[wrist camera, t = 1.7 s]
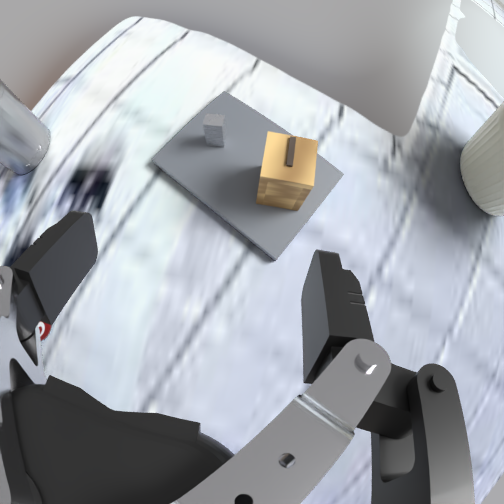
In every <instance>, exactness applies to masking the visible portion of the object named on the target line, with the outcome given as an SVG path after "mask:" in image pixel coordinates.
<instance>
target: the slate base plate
mask: <svg viewBox="0 0 504 504" xmlns="http://www.w3.org/2000/svg"><path fill="white" fill-rule="evenodd" d="M206 113H209V114H219V115H225V122H226V135H227V138H226V142H225V146H224V148H222V147H215V146H207V143H206V138H205V133H204V128H203V121H204V118H205V115H206ZM268 131H269V132H275V133H281V134H286V135H291V134H290V133H288V132H287V131H286V130H284V129H283V128H281V127H280V126H278V125H277V124H275V123H274V122H272V121H271V120H269V119H268V118H266V117H265V116H263V115H262V114H260V113H259V112H257V111H256V110H254V109H253V108H251V107H249V106H248V105H246V104H245V103H243V102H241V101H240V100H238V99H237V98H235V97H233V96H232V95H230V94H228V93H227V92H225V91H224V92H223V93H221V94H220V95H219V96H218V97H217V98H216V99H214V100H213V101H212V102H211V103H210V104H209V105H207V106H206V107H205V108H204V109H203V110H202V111H201V112H200V113H199V114H197V115H196V116H195V117H194V118H193V119H192V120H191V121H190V122H189V123H188V124H187V125H186V126H184V127H183V128H182V129H181V130H180V131H179V132H178V133H177V134H176V135H175V136H174V137H173V138H172V139H171V140H170V141H169V142H168V143H167V144H166V145H165V146H164V147H163V148H162V149H161V150H160V151H159V152H158V153H157V154H156V155H155V156H154V157H153V158H152V161H153V162H154V164H155V165H156V166H157V167H159V168H160V169H161V170H162V171H164V172H165V173H166V174H168V175H169V176H170V177H171V178H173V179H174V180H175V181H176V182H178V183H179V184H180V185H181V186H183V187H184V188H185V189H186V190H188V191H189V192H190V193H191V194H193V195H194V196H195V197H196V198H198V199H199V200H200V201H201V202H202V203H204V204H205V205H206V206H207V207H209V208H210V209H211V210H212V211H214V212H215V213H216V214H217V215H219V216H220V217H221V218H222V219H224V220H225V221H226V222H227V223H229V224H230V225H231V226H232V227H234V228H235V229H236V230H237V231H239V232H240V233H241V234H242V235H243V236H245V237H246V238H247V239H248V240H250V241H251V242H252V243H253V244H255V245H256V246H257V247H258V248H260V249H261V250H262V251H263V252H264V253H266V254H267V255H268V256H269V257H271V258H272V259H273V260H274V261H276V260H277V258H278V257H279V256H280V255H281V254H282V252H283V251H284V250H285V249H286V247H287V246H288V245H289V244H290V242H291V241H292V240H293V239H294V237H295V236H296V235H297V234H298V232H299V231H300V230H301V229H302V227H303V226H304V225H305V223H306V222H307V221H308V220H309V218H310V217H311V216H312V215H313V213H314V212H315V211H316V210H317V208H318V207H319V206H320V204H321V203H322V202H323V201H324V199H325V198H326V197H327V196H328V194H329V193H330V192H331V190H332V189H333V188H334V187H335V185H336V184H337V183H338V181H339V180H340V179H341V177H342V176H343V175H344V174H343V173H342V172H341V171H339V170H338V169H337V168H336V167H334V166H333V165H332V164H331V163H329V162H328V161H327V160H325V159H324V158H323V157H321V156H320V155H319V154H317V158H316V169H315V179H314V187H313V188H312V190H311V191H310V193H309V195H308V196H307V198H306V199H305V201H304V202H303V204H302V206H301V207H300V209H299V210H298V211H295V210H290V209H284V208H279V207H273V206H267V205H261V204H256V200H257V193H258V187H259V180H260V174H261V168H262V162H263V157H264V151H265V145H266V139H267V133H268ZM292 136H293V135H292Z"/></svg>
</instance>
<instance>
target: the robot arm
mask: <svg viewBox="0 0 504 504" xmlns="http://www.w3.org/2000/svg"><path fill="white" fill-rule="evenodd" d="M49 144H50V131H49V129H48V128H47V127H46V126H45V125H44V124H43V123H42V122H41V121H40V120H39V119H38V118H37V117H36V116H35V115H34V114H33V113H32V112H31V111H30V110H29V109H28V108H27V107H26V106H25V105H24V104H23V103H22V102H21V101H20V99H19V98H17V96H16V95H15V94H14V93H13V92H12V91H11V90H10V89H9V88H8V87H7V86H6V85H5V84H4V83H3V82H2V81H1V80H0V163H1V164H3V165H4V166H6V167H7V168H9V169H10V170H12V171H13V172H15V173H17V174H20V175H21V174H26V173H28V172H30V171H31V170H33V169H34V168H35V167H36V166H37V165H38V164H39V163H40V162H41V160H42V159H43V157H44V156H45V154H46V152H47V150H48V147H49ZM97 254H98V248H97V242H96V236H95V231H94V225H93V219H92V216H91V214H90V213H87V212H80V211H70V212H69V213H68V214H67V215H66V216H65V217H63V218H62V219H61V220H60V221H59V222H58V223H57V224H55V225H53V226H51V227H50V228H48V229H47V230H46V231H45V232H44V233H43V234H42V235H41V236H40V238H38V239H37V240H36V241H35V242H34V243H33V245H31V246H30V247H29V248H28V249H27V250H26V251H25V252H24V253H23V254H22V255H21V256H20V257H19V258H18V259H17V260H16V262H15V263H14V264H13V265H12V266H11V267H10V268H9V267H7V266H0V504H300V503H301V502H302V501H303V500H304V499H305V498H306V497H307V496H308V494H309V493H310V492H311V491H312V490H313V489H314V488H315V486H316V485H317V484H318V483H319V482H320V481H321V479H322V478H323V477H324V476H325V475H326V473H327V472H328V471H329V470H330V468H331V467H332V466H333V465H334V463H335V462H336V461H337V460H338V458H339V457H340V456H341V454H342V453H343V452H344V450H345V449H346V448H347V446H348V445H349V443H350V442H351V440H352V439H353V437H354V430H355V428H356V427H357V428H360V429H363V430H366V431H370V432H371V446H372V498H371V504H475V498H474V484H473V474H472V465H471V457H470V450H469V444H468V438H467V432H466V427H465V421H464V417H463V412H462V407H461V403H460V399H459V394H458V390H457V387H456V383H455V380H454V378H453V376H452V375H451V374H450V372H449V371H448V370H446V369H445V368H444V367H442V366H440V365H437V364H426V365H424V366H423V367H422V368H421V369H420V370H419V371H418V372H414V371H411V370H408V369H405V368H402V367H399V366H396V365H394V364H392V363H391V360H390V358H389V355H388V354H387V352H386V351H385V350H384V349H383V348H382V347H381V346H380V345H379V344H377V343H375V342H374V338H373V334H372V330H371V325H370V321H369V317H368V313H367V309H366V306H365V301H364V298H363V296H362V290H361V286H360V283H359V281H358V279H357V278H356V277H355V276H354V274H353V273H352V272H351V270H344V269H342V265H341V261H340V257H339V254H338V253H334V252H328V251H323V250H316V251H315V252H314V255H313V258H312V261H311V264H310V267H309V271H308V274H307V277H306V280H305V283H304V286H303V291H302V299H301V306H302V333H303V375H304V383H309V384H312V385H311V386H310V387H309V388H308V389H307V390H306V391H305V392H304V393H303V394H302V395H298V396H297V397H296V398H295V399H294V400H293V401H292V402H291V403H290V404H289V405H288V406H287V407H286V408H285V409H284V410H283V411H282V412H281V413H280V414H279V415H278V416H277V417H276V418H275V419H274V420H273V421H272V422H271V423H269V424H268V425H267V426H266V427H265V428H264V429H263V430H262V431H261V432H260V433H259V434H258V435H257V436H256V437H255V438H253V439H252V440H251V441H250V442H249V443H248V444H247V445H246V446H245V447H243V448H242V449H241V450H240V451H239V452H238V453H237V454H235V455H234V454H233V453H232V452H231V451H230V450H229V449H228V448H226V447H225V446H224V445H222V444H221V443H219V442H218V441H216V440H215V439H213V438H211V437H209V436H207V435H205V434H203V433H201V432H200V423H198V422H193V421H188V420H184V419H179V418H175V417H171V416H166V415H162V414H159V413H139V412H123V411H114V410H111V409H110V408H108V407H106V406H105V405H103V404H102V403H100V402H99V401H98V400H96V399H95V398H93V397H92V396H90V395H89V394H88V393H86V392H85V391H83V390H82V389H81V388H79V387H76V386H74V385H71V384H69V383H67V382H64V381H62V380H60V379H57V378H55V377H53V376H51V375H50V376H49V377H48V379H46V376H45V373H44V367H43V359H42V350H41V340H40V330H39V328H38V326H37V325H38V323H39V322H40V321H42V322H44V323H47V324H49V325H52V324H53V323H54V321H55V320H56V318H57V316H58V315H59V313H60V312H61V310H62V309H63V307H64V306H65V304H66V303H67V301H68V300H69V299H70V297H71V296H72V294H73V293H74V291H75V290H76V288H77V287H78V286H79V284H80V283H81V281H82V280H83V279H84V277H85V276H86V274H87V273H88V272H89V270H90V269H91V268H92V266H93V265H94V264H95V262H96V259H97Z"/></svg>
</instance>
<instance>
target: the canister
mask: <svg viewBox="0 0 504 504" xmlns="http://www.w3.org/2000/svg"><path fill="white" fill-rule="evenodd" d="M460 160H461V161H460V166H461V167H460V170H461V175H462V178H463V179H462V180H463V181H464V185H465V187H466V189H467V191H468V193H469V195H470V196H471V198H472V200H473V201H474V202H475V204H476V205H478V206H479V208H480V209H482V210H483V211H484V212H486V213H488V214H491V215H494V216H504V102H503V103H502V104H501V105H500V106H499V107H498V108H497V110H496V111H495V112H494V113H493V114H492V115H491V116H490V117H489V119H488V120H487V121H486V122H485V123H484V124H483V125H482V126H481V127H480V129H479V130H478V131H477V132H476V133H475V134H474V135H473V137H472V138H471V139H470V140H469V141H468V142H467V144H466V145H465V147H464V149H463V151H462V154H461V158H460Z"/></svg>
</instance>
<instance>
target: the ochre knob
mask: <svg viewBox="0 0 504 504" xmlns="http://www.w3.org/2000/svg"><path fill="white" fill-rule="evenodd" d="M317 146H318V141H316V140H312V139H307V138H302V137H297V136H292V135H286V134H281V133H275V132H269V131H268V133H267V139H266V145H265V151H264V157H263V162H262V168H261V174H260V180H259V187H258V193H257V200H256V204H261V205H267V206H273V207H279V208H284V209H290V210H295V211H298V210H299V209H300V207H301V206H302V204H303V202H304V201H305V199H306V198H307V196H308V195H309V193H310V191H311V190H312V188H313V187H314V179H315V169H316V158H317Z"/></svg>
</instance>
